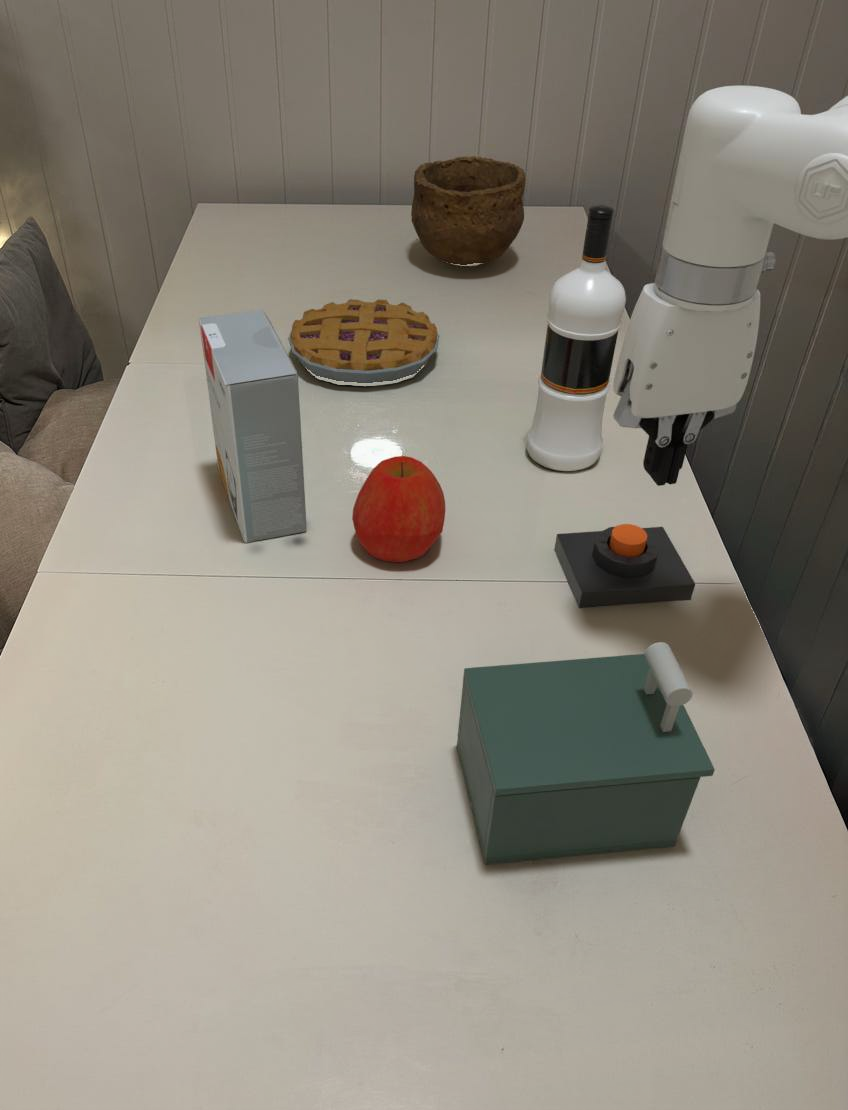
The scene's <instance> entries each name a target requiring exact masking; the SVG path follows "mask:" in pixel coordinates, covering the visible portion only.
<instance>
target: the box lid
mask: <svg viewBox="0 0 848 1110" xmlns="http://www.w3.org/2000/svg"><path fill="white" fill-rule="evenodd" d="M463 676H464V678H465V682H466V685H467V689H468V693H469V697H470V701H471V704H472V708H473V712H474V716H475V720H476V724H477V727H478V731H479V735H480V739H481V743H482V747H483V750H484V754H485V758H486V762H487V766H488V770H489V773H490V777H491V781H492V785H493V789H494V793H495V795H496V796H499V795H509V794H520V793H531V792H542V791H553V790H564V789H575V788H586V787H597V786H608V785H619V784H630V783H640V782H651V781H662V780H673V779H684V778H695V777H700V778H704V777H705V778H706V777H712V776H714V773H715V771H716V770H715V767H714V765H713V763H712V761H711V759H710V756H709V755H708V752H707V750H706V748H705V746H704V744H703V742H702V739H701V738H700V736H699V733H698V732H697V730H696V727H695V725H694V724H693V721H692V720H691V717H690V715H689V713H688V711H687V708H686V707H685V706H684V705H686V704H687V703H688V702H690V701H691V700H692V698H693V691H692V690H693V689H691V688H692V687H690V684H689V682H688V680H687V679H686V676H685V674H684V672H683V670H682V668H681V667H680V665H679V662H678V660H677V658H676V657H675V654H674V653H673V650H672V649H671V646H670V644H668V643H667V642H664V641H658V642H654V643H651V644H650V645H649V646H648V647H647V648H646V649H645V651H644V653H638V654H625V655H613V656H612V655H611V656H601V657H600V656H599V657H588V658H574V659H563V660H552V661H551V660H550V661H539V662H537V661H536V662H526V663H513V664H501V665H488V666H487V665H486V666H475V667H465V668H464V669H463Z"/></svg>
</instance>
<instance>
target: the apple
mask: <svg viewBox="0 0 848 1110" xmlns="http://www.w3.org/2000/svg"><path fill="white" fill-rule="evenodd" d="M446 509H447V508H446V499H445V495H444V491H443V488H442V486H441V484H440V482H439V480H438V479H437V477H436V476H435V474H434V473H433V471H431V469H430V468H429V467H428V466H427V465H425V464H424V463H423V462H422V461H421V460H419V459H416V458H414V457H412V456H407V455H399V456H397V455H396V456H393V457H389V458H386V459H383V460H381V461H380V462H379V463H377V464H376V465H375V467H374V468H373V469H372V470H371V471H370V473H369V474H368V476H367V477H366V479H365V481H364V482H363V484H362V486H361V488H360V489H359V491H358V493H357V495H356V499H355V502H354V505H353V508H352V516H351V517H352V518H351V519H352V523H353V528H354V531H355V532H354V533H355V536H356V539H357V540H358V541H359V543H360V544H361V545H362V547H363V548H364V550H365V551H366V552H367V553H368V554H369V555H370V556H371V557H374V558H376V559H379V560H381V561H384V562H394V563H405V562H408V561H412V560H415V559H419V558H421V557H423V555H425V554H426V553H427V552H428V550H429V549H430V548H431V547H432V546H433V544H434V543H435V542H436V540H437V539H438V538H439V536H441V534H442V533H443V529H444V525H445V519H446V518H445V517H446Z"/></svg>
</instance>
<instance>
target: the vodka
mask: <svg viewBox="0 0 848 1110" xmlns="http://www.w3.org/2000/svg"><path fill="white" fill-rule="evenodd" d="M588 211H589V212H588V216H587V223H586V229H585V236H584V241H583V249H582V256H581V261H580V266H579V267H577V268H575V269H573V270H571V271H570V272H567V273H565V274H564V275H562V276H560V277H559V278H558V279H557V280H556V281H555V282H554V284H553V286H552V287H551V290H550V292H549V298H548V313H547V315H546V322H547V326H546V334H545V342H544V347H543V348H544V349H543V354H542V355H543V356H542V362H541V363H542V364H541V372H540V375H539V377H538V380H537V383H538V389H537V390H538V391H537V399H536V400H537V401H536V405H535V412H534V416H533V419H532V422H531V426H530V428H529V430H528V432H527V436H526V443H525V444H526V445H525V447H526V450H527V453H528V455H529V458H531V459H532V460H533V461H534V462H535V463H537V464H539V465H541V466H543V467H545V468H547V469H549V470H553V471H559V472H575V471H579V470H585V469H587V468H589V467H591V466H593V465H594V464H595V463H596V462H597V461H598V459H599V458H600V456H601V453H602V448H603V442H604V441H603V435H602V434H603V433H602V432H603V417H604V411H605V405H606V400H607V396H608V393H609V391H610V388H611V385H610V377H611V373H612V366H613V361H614V356H615V351H616V346H617V341H618V334H619V330H620V329H621V326H622V318H623V314H624V312H625V307H626V303H627V297H626V290H625V288H624V286H623V284H622V283H621V281H619V279H617V278H616V277H615V276H614V275H613V274H611V273H610V272H609V271H608V270H606V264H607V263H606V260H607V255H608V249H609V243H610V238H611V229H612V226H613V221H614V220H613V218H614V213H615V209H614V207H613V206H611V205H609V204H604V203H596V204H593V205H590V207H589V208H588Z"/></svg>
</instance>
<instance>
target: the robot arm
mask: <svg viewBox="0 0 848 1110" xmlns="http://www.w3.org/2000/svg"><path fill="white" fill-rule="evenodd" d="M674 177H675V178H674V183H673V188H672V193H671V198H670V203H669V209H668V213H667V220H666V225H665V229H664V234H663V240H662V245H661V249H660V254H659V259H658V264H657V269H656V275H655V280H654V282H651V283H647V284H645V285H644V286H643V288H642V289H641V292H640V295H639V297H638V299H637V301H636V303H635V306H634V308H633V311H632V313H631V316H630V318H629V322H628V325H627V328H626V332H625V334H624V338H623V342H622V345H621V348H620V352H619V357H618V360H617V365H616V369H615V373H614V378H613V387H612V389H613V392H614V394H615V395H616V396H619V397H620V399H619V401H618V403H617V405H616V408H615V410H614V412H613V420H615V422H616V423H617V424H618V425H619V427H622V428H627V429H628V428H629V429H635V430H636V429H642V431H644V432H645V434H647V435H648V439H647V443H646V448H645V452H644V457H643V461H642V462H643V463H642V464H643V469H644V470H645V472H646V473H647V474H648V475H649V477H650V478H651V479H652V480H653V482H654V483H655V484H656V486H657V487H660V486H661V487H662V486H665V485H666V484H668V485H676V484H677V482H678V477H679V474H680V471H681V470H682V468H683V465H684V462H685V457H686V453H687V449H688V445H690V444H692V443H695V441H696V440H697V437H698V435H699V432H700V431H701V430H703V429H704V428H705V427H706V426H707V425H709V423H710V422H712V421H713V419H714V420H716V419H720V418H722V417H725V416H728V415H731V414H733V413H734V412H735V411H736V409H737V404H738V403H739V402H740V401H741V399H742V398H743V395H744V393H745V391H746V388H747V385H748V381H749V378H750V374H751V370H752V366H753V362H754V357H755V352H756V347H757V342H758V341H757V340H758V336H759V327H760V317H761V316H760V315H761V292H760V290H759V289H758V288H757V286H758V285H759V282H760V279H761V276H762V274H763V273H764V272H765V271H773V269H774V268H775V267H776V263H777V258H776V254H775V253H774V252H773V251H769V252H768V251H767V249H768V246H769V242H770V239H771V236H772V235H771V234H772V231H773V228H774V224H775V225H777V226H780V227H781V228H785V229H786V230H790V231H792V232H794V233H797V234H799V235H802V236H805V237H810V238H814V239H818V240H826V241H827V240H828V241H830V240H841V239H847V238H848V95H846V96H845V97H843V98H842V99H841V100H840V101H838V102H836V103H835V104H834V105H833V106H831V107H830V108H829V109H828V110H826V111H823V112H819V113H815V114H802V110H801V107H800V104H799V102H798V101H797V100H796V99H795V98H794V96H792V95H790V94H788V93H787V92H784V91H781V90H778V89H775V88H771V87H770V88H769V87H765V86H764V87H763V86H756V85H726V86H725V85H724V86H719V87H716V88H712V89H708V90H706V91H705V92H703V93H702V94H701V95H699V96H698V97H697V98H696V100H695V101H694V102H693V104H692V105H691V107H690V109H689V112H688V115H687V119H686V123H685V127H684V132H683V137H682V143H681V148H680V153H679V158H678V162H677V168H676V173H675V176H674Z"/></svg>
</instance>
